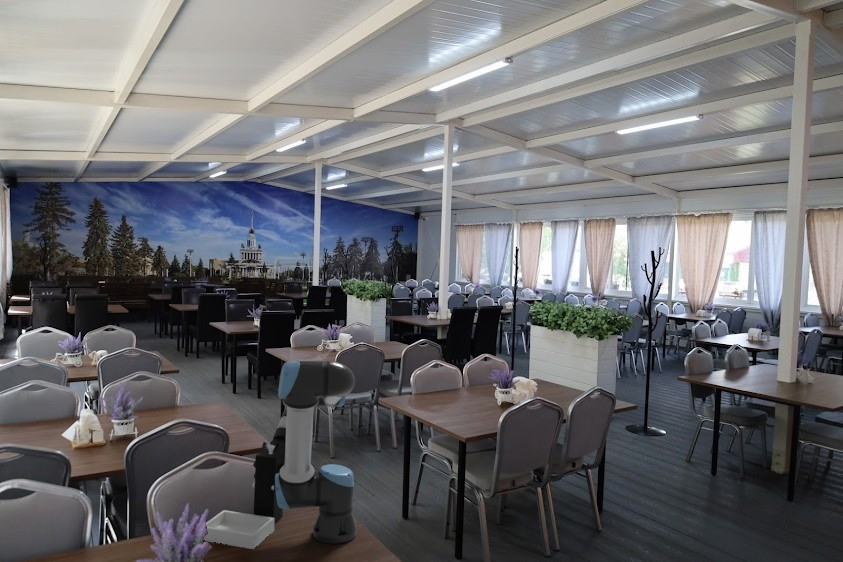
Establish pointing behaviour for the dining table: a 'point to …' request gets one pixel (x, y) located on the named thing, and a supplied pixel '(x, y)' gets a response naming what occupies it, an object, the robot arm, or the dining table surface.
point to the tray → (239, 529)
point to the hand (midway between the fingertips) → (263, 488)
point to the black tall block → (267, 483)
